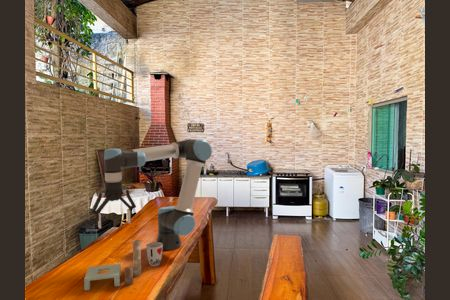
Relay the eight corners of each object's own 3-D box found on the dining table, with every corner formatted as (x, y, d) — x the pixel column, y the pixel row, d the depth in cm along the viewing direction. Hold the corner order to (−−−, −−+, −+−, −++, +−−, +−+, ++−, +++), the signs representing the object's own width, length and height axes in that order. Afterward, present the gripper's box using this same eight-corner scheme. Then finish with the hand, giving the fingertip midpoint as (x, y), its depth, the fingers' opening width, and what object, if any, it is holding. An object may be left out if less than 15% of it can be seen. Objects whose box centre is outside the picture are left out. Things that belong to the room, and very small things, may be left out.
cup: (148, 268, 151) (147, 248, 151) (145, 262, 159) (145, 243, 158) (164, 265, 154) (164, 246, 154) (161, 259, 162) (160, 241, 161)
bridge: (120, 273, 145) (120, 263, 145) (119, 285, 134) (119, 274, 134) (89, 277, 142) (88, 267, 141) (84, 290, 130) (84, 278, 130)
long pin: (141, 272, 147) (140, 239, 146) (141, 275, 143) (140, 242, 143) (133, 273, 146) (133, 240, 145) (133, 276, 142) (132, 242, 142)
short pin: (133, 281, 138) (132, 266, 138) (132, 285, 135) (132, 269, 134) (125, 282, 137) (124, 267, 137) (124, 286, 134) (124, 270, 134)
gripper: (137, 177, 156) (138, 219, 157) (83, 182, 142) (85, 227, 143) (141, 179, 150) (142, 222, 151) (86, 184, 136) (88, 231, 137)
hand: (114, 225), depth 147 cm, fingers open, 13 cm apart
